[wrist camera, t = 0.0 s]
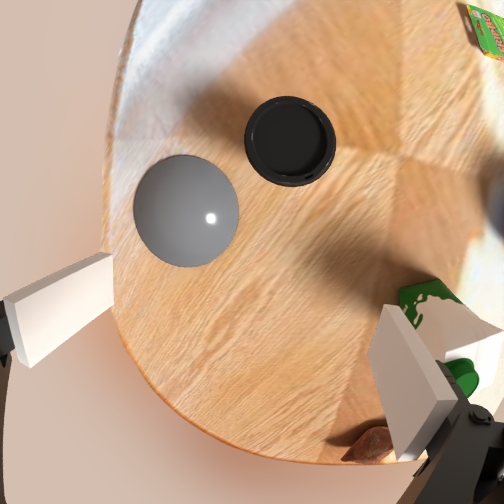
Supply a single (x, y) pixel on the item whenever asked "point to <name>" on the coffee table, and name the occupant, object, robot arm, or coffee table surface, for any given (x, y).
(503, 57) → the game box
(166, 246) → the disc
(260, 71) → the coffee table surface
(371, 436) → the reddish brown rock
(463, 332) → the milk carton
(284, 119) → the coffee cup
